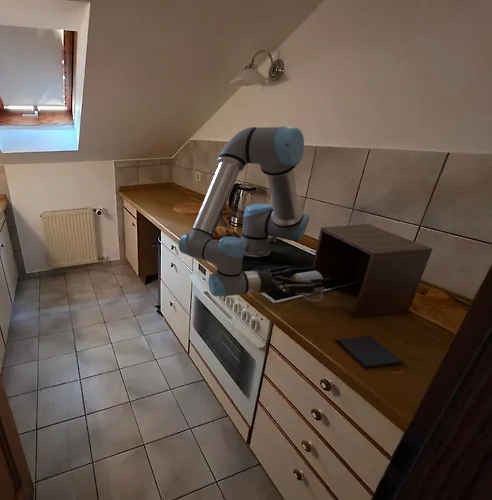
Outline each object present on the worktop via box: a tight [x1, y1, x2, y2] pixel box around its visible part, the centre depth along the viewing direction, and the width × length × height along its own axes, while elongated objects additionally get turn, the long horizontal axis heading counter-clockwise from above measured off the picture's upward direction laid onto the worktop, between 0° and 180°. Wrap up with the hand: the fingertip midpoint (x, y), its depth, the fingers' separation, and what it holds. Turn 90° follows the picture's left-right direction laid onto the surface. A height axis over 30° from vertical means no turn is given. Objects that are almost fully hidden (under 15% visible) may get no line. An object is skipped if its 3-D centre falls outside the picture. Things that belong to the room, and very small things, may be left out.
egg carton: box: [268, 235, 278, 243], centre depth 156 cm, size 11×8×4 cm
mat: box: [336, 335, 403, 369], centre depth 79 cm, size 10×10×1 cm
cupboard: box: [312, 223, 433, 318], centre depth 101 cm, size 23×18×22 cm
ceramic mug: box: [290, 271, 325, 304], centre depth 99 cm, size 11×8×8 cm
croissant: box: [212, 225, 234, 239], centre depth 163 cm, size 21×10×8 cm, turn 101°
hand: (320, 276), depth 100 cm, fingers closed on ceramic mug, 7 cm apart
